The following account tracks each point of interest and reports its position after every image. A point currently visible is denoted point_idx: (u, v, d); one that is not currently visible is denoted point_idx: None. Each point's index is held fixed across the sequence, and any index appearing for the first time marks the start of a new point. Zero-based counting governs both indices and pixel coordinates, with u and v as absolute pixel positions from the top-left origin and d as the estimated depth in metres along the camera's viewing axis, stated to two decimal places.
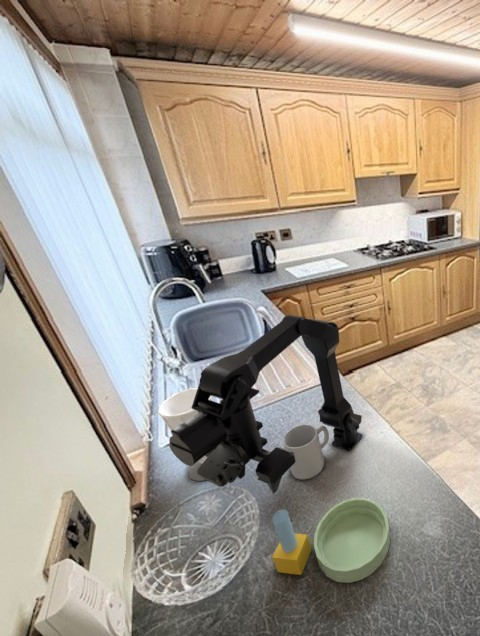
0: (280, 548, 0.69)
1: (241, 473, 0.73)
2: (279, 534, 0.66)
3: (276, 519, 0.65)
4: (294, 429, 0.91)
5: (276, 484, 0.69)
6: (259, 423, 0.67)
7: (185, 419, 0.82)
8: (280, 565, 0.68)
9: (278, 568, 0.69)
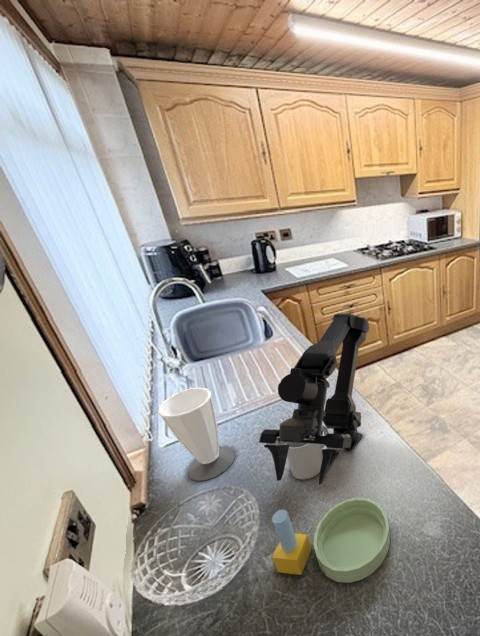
0: (280, 548, 0.69)
1: (280, 474, 0.74)
2: (279, 534, 0.66)
3: (276, 519, 0.65)
4: None
5: (325, 472, 0.73)
6: (324, 411, 0.79)
7: (185, 419, 0.82)
8: (280, 565, 0.68)
9: (278, 568, 0.69)
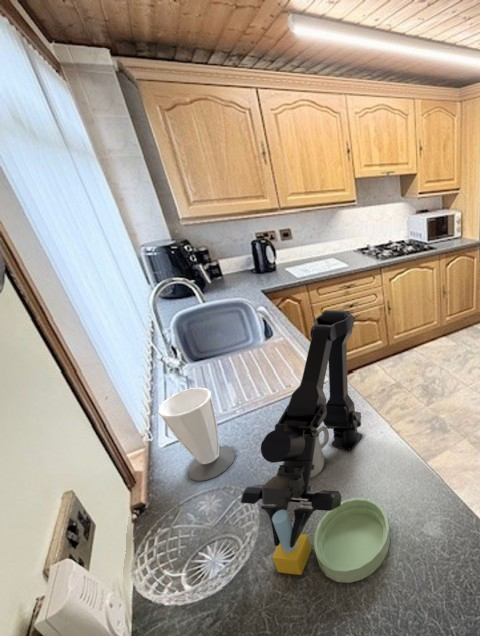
0: (280, 548, 0.69)
1: None
2: (279, 534, 0.66)
3: (276, 519, 0.65)
4: None
5: (298, 534, 0.68)
6: None
7: (185, 419, 0.82)
8: (280, 565, 0.68)
9: (278, 568, 0.69)
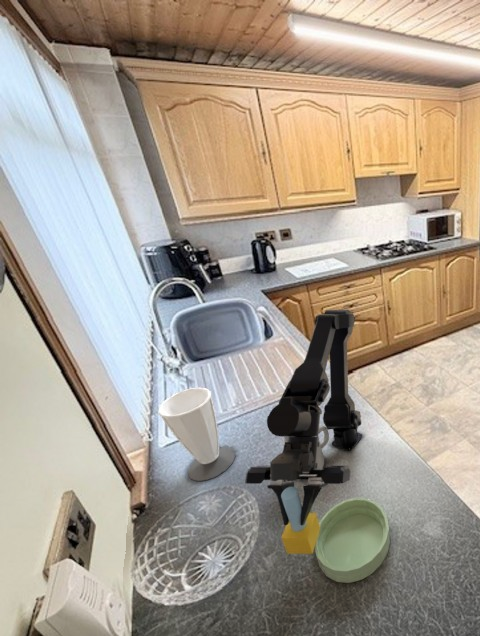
0: (289, 528, 0.66)
1: (287, 517, 0.65)
2: (289, 512, 0.63)
3: (286, 496, 0.62)
4: None
5: (308, 511, 0.65)
6: (317, 441, 0.72)
7: (185, 419, 0.82)
8: (290, 545, 0.66)
9: (287, 549, 0.66)
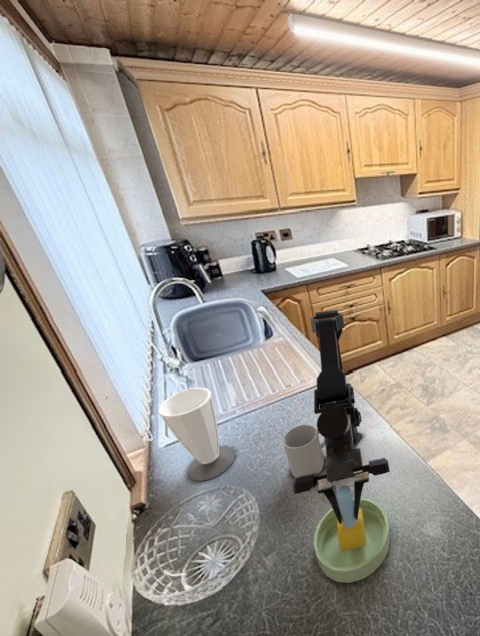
0: (341, 527, 0.70)
1: None
2: (345, 509, 0.67)
3: (342, 495, 0.66)
4: (294, 429, 0.91)
5: None
6: None
7: (185, 419, 0.82)
8: (345, 543, 0.69)
9: (342, 547, 0.70)
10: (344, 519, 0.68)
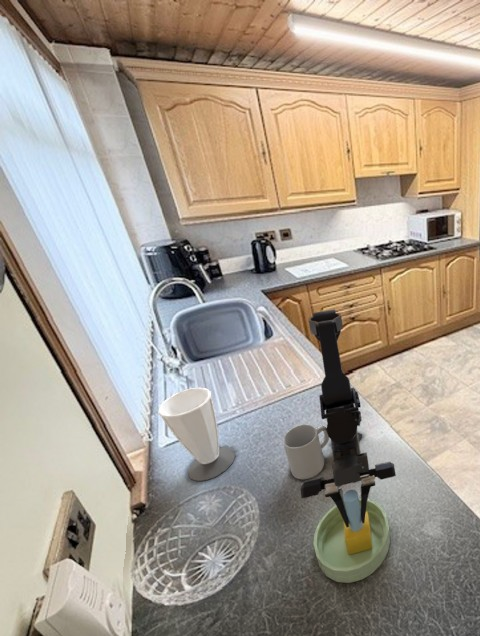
0: (348, 530, 0.71)
1: None
2: (352, 513, 0.68)
3: (349, 499, 0.67)
4: (294, 429, 0.91)
5: None
6: None
7: (185, 419, 0.82)
8: (352, 546, 0.70)
9: (349, 550, 0.70)
10: (351, 523, 0.69)
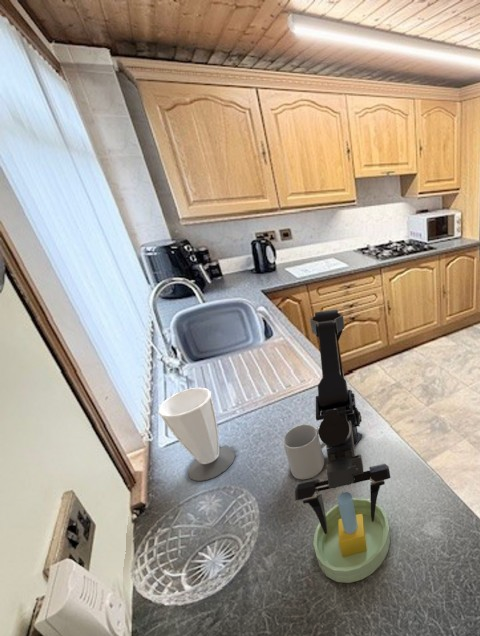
0: (342, 533, 0.70)
1: (326, 526, 0.69)
2: (346, 515, 0.68)
3: (343, 501, 0.67)
4: (294, 429, 0.91)
5: None
6: None
7: (185, 419, 0.82)
8: (346, 548, 0.70)
9: (343, 552, 0.70)
10: (345, 525, 0.69)
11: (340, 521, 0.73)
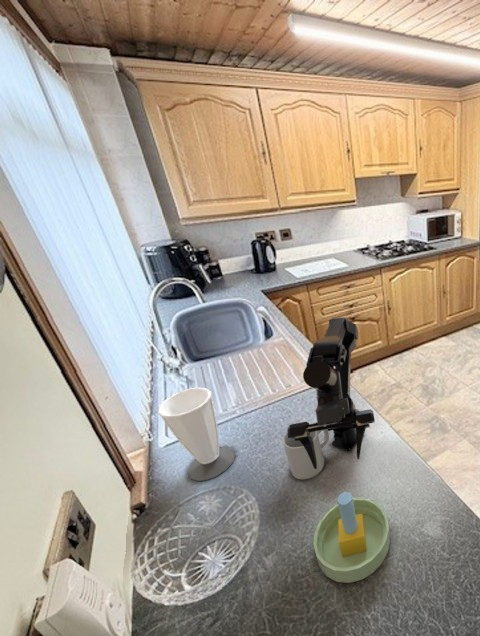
0: (342, 533, 0.70)
1: (316, 462, 0.76)
2: (346, 515, 0.68)
3: (343, 501, 0.67)
4: None
5: None
6: None
7: (185, 419, 0.82)
8: (346, 548, 0.70)
9: (343, 552, 0.70)
10: (345, 525, 0.69)
11: (340, 521, 0.73)
